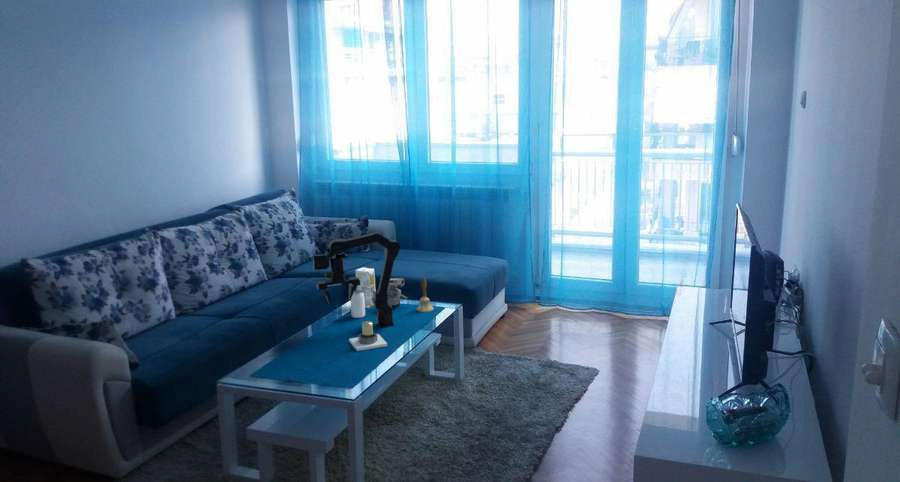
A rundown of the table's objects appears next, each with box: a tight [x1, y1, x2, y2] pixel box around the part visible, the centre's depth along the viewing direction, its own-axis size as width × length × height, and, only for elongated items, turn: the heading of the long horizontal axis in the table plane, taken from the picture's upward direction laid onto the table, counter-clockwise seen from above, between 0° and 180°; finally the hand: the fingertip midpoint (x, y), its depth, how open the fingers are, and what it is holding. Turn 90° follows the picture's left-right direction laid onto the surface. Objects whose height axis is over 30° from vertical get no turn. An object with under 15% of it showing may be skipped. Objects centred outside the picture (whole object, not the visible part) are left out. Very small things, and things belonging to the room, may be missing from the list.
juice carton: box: [355, 266, 377, 309], centre depth 343 cm, size 8×9×19 cm
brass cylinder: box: [361, 320, 374, 338], centre depth 291 cm, size 4×4×8 cm
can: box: [350, 289, 366, 319], centre depth 328 cm, size 6×6×12 cm
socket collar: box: [357, 332, 378, 344], centre depth 291 cm, size 8×8×2 cm
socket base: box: [348, 333, 388, 352], centre depth 292 cm, size 13×13×1 cm
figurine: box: [387, 277, 410, 309], centre depth 339 cm, size 9×12×15 cm
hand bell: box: [416, 277, 434, 313], centre depth 335 cm, size 8×8×16 cm
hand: (339, 302), depth 308 cm, fingers open, 9 cm apart
